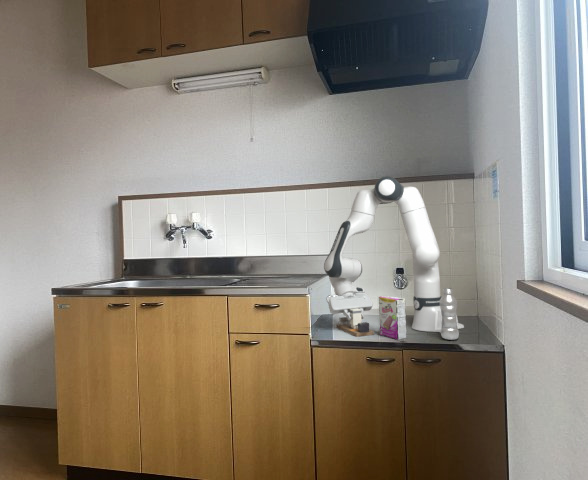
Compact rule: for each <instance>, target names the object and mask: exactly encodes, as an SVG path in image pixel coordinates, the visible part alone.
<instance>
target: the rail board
mask: <svg viewBox="0 0 588 480" xmlns="http://www.w3.org/2000/svg"><path fill="white" fill-rule="evenodd" d="M344 321H349V322H350V320H348V318H347V317H346V316H345V317H344V316H342V317H339V318H338V324H336V329H338V330H339V331H340V330H341V331H342V332H346V334H349V335H352V336H353V337H357V338H359V337H365V336H367V337H368V336H373V335H375V334H374V332H375V331H374V330H371V329H369V332H363V333H360V332H358V330H357V329H354V328H351V327H349V326H347V325H344Z"/></svg>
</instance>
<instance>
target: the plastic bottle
mask: <svg viewBox="0 0 588 480" xmlns="http://www.w3.org/2000/svg"><path fill="white" fill-rule="evenodd" d="M442 294H443V295H442V296H441V299H440V308H441V315H442V327H441V332H440V336H441V338H442V339H444V340H449V341H454V340H457V339H458V338H459V335H460V332H459V329H458V328H457V320H456V315H457V309H458V301H457V298H456V297H455V296H454V288H452V287H451V288H450V287H448V288H445V287H444V288H443V289H442Z"/></svg>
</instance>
